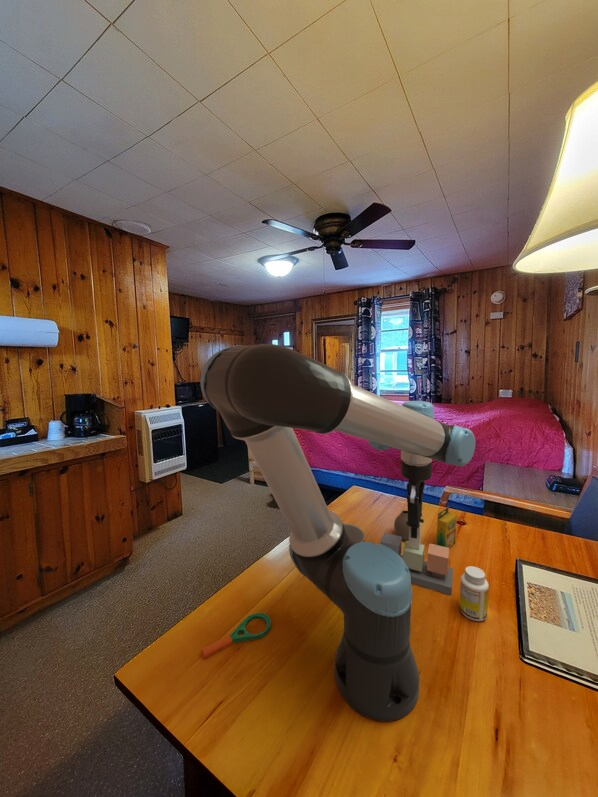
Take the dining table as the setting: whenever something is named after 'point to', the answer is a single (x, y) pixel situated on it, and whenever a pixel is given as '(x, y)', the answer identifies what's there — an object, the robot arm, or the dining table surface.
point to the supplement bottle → (474, 594)
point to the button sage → (414, 557)
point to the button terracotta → (438, 559)
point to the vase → (402, 525)
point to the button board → (432, 579)
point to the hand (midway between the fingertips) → (414, 546)
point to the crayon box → (446, 529)
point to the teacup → (354, 532)
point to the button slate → (392, 542)
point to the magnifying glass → (235, 637)
